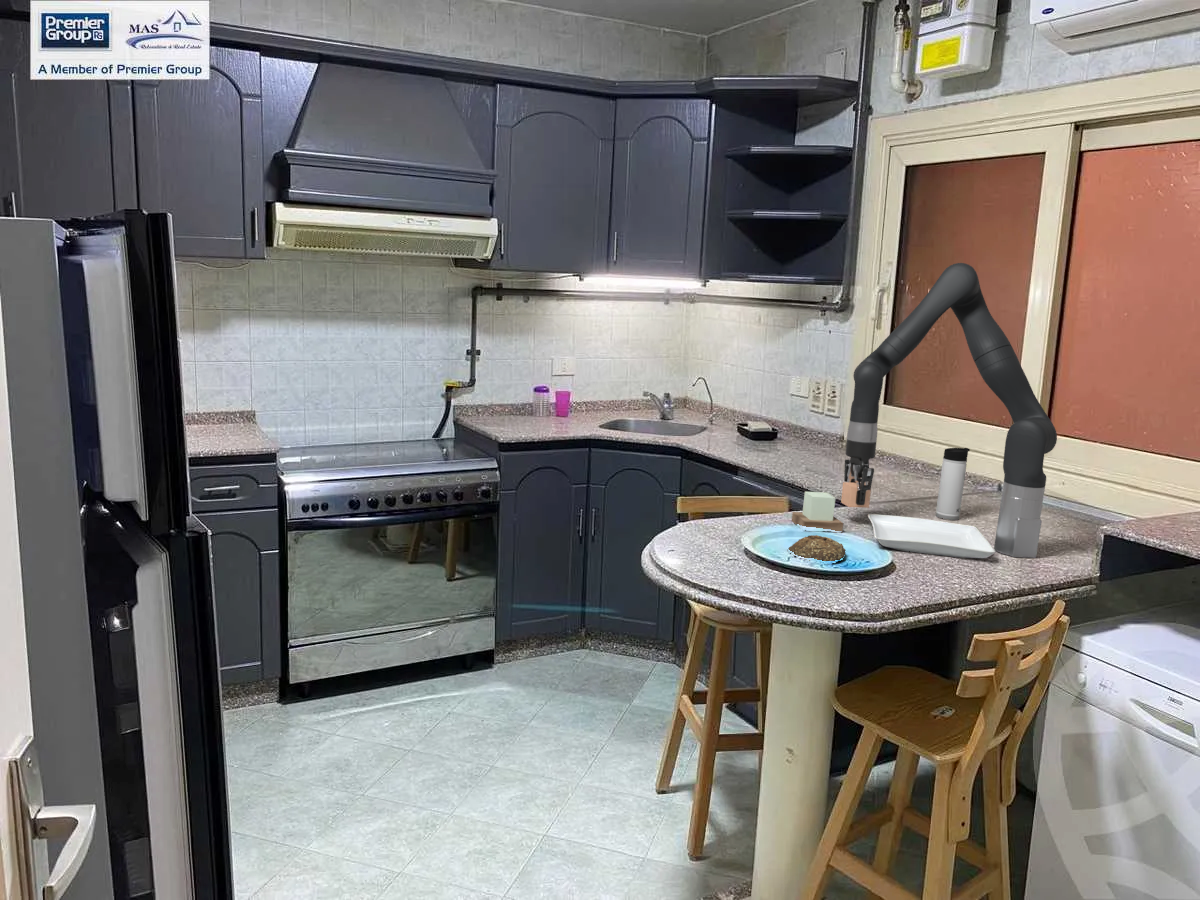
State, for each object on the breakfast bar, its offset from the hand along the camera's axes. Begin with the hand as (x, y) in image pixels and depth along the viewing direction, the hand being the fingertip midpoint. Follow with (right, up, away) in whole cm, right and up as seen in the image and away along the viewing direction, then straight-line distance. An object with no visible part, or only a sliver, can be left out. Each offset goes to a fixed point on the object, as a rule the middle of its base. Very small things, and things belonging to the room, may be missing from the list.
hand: (855, 501), depth 247 cm
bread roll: (-18, -11, -33) cm, 39 cm away
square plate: (+14, -10, -14) cm, 22 cm away
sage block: (-11, -4, -6) cm, 13 cm away
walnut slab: (-12, -6, -6) cm, 14 cm away
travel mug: (+30, -6, +15) cm, 34 cm away
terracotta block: (0, -1, 0) cm, 1 cm away
